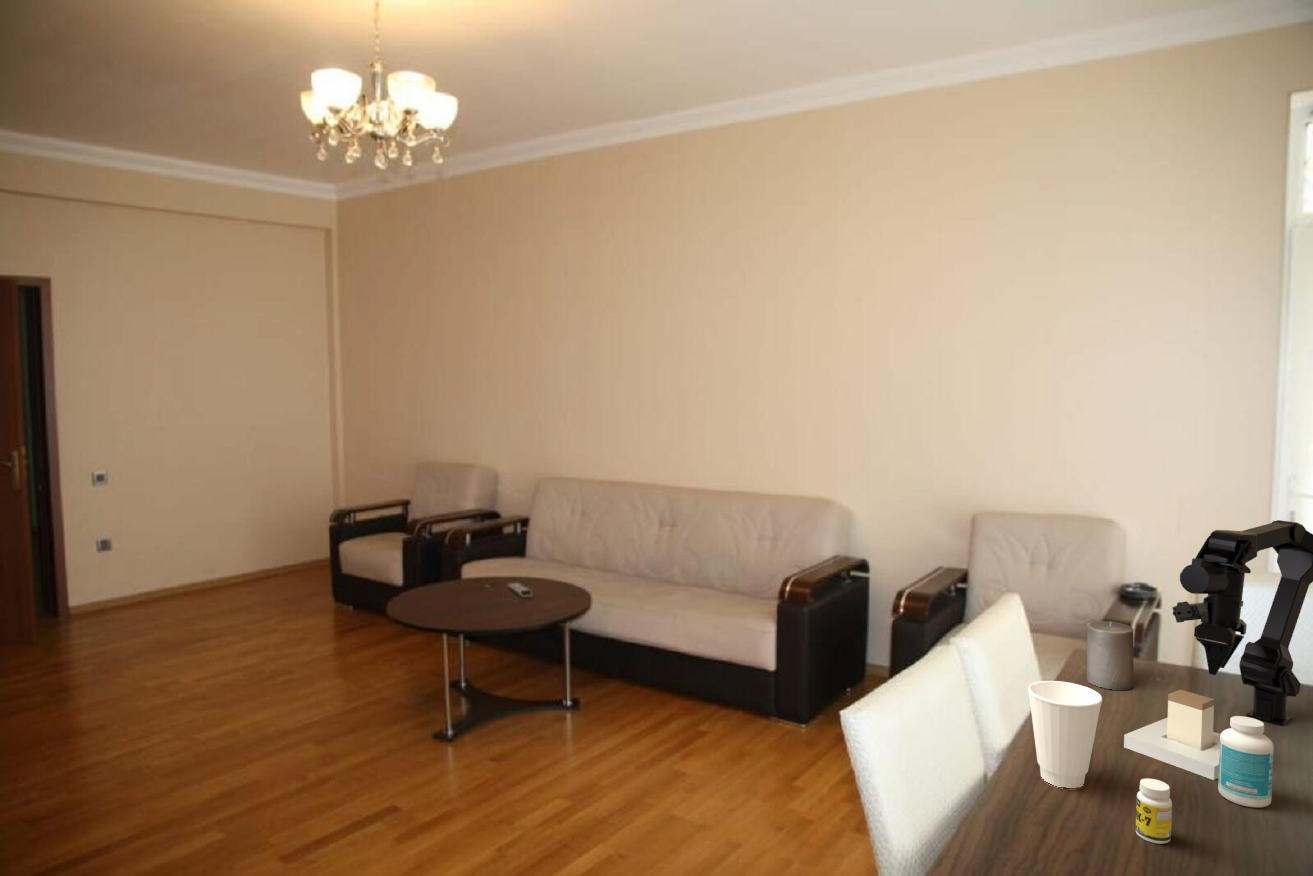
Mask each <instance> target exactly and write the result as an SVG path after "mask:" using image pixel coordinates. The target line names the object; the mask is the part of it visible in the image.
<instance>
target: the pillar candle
mask: <svg viewBox="0 0 1313 876" xmlns="http://www.w3.org/2000/svg"><path fill="white" fill-rule="evenodd" d="M1086 626H1087V627H1086V628H1087V631H1086V633H1087V634H1086V635H1087V636H1086V637H1087V638H1086V639H1087V641H1086V642H1087V643H1086V682H1087V681H1088V682H1089V683H1088V682H1087V683H1088V684H1090V683H1091V684H1090V685H1093V686H1095V685H1096V686H1095V687H1097V686H1098V687H1097V688H1099V687H1104V688H1108V689H1112V690H1111V691H1126V690H1131V689H1133V688H1132V687H1134V684H1133V683H1134V653H1135V652H1134V645H1135V644H1134V641H1135V640H1134V639H1135V637H1134V632H1135V631H1134V630H1135V629H1134V628H1133V627H1132V626H1130V625H1128V624H1125V623H1121V622H1116V621H1109V620H1108V621H1105V620H1097V621H1090V622H1088V623H1086ZM1132 685H1133V686H1132ZM1108 689H1107V690H1108Z"/></svg>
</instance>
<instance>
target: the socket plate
mask: <svg viewBox="0 0 1313 876" xmlns="http://www.w3.org/2000/svg"><path fill="white" fill-rule="evenodd" d="M1167 721H1168V716H1167V717H1165V718H1163V719H1160V720H1158V721H1155V722H1153V723H1150V724H1147V725H1145V726H1143V727H1140V728H1137V729H1135V730H1132V731H1129V732H1128V733H1125V734H1124V736H1123V747H1124V748H1125V749H1128V750H1131V751H1133V752H1135V753H1139V754H1141V755H1144V756H1146V757H1150V758H1152V759H1155V760H1158V761H1160V762H1163V763H1166V764H1168V765H1172V766H1174V767H1177V768H1180V769H1182V770H1185V771H1188V772H1191V773H1193V774H1196V775H1198V776H1201V777H1204V778H1207V779H1208V780H1209V779H1210V780H1212V781H1215V780H1218V779H1219V753H1220V735H1221V733H1219V732H1215V731H1213V746H1212V747H1211V748H1209V749H1207V750H1204V751H1201V750H1198V749H1195V748H1192V747H1189V746H1186V745H1184V744H1181V743H1178V742H1175V741H1172V740H1169V739H1167Z"/></svg>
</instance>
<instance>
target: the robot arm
mask: <svg viewBox="0 0 1313 876" xmlns="http://www.w3.org/2000/svg"><path fill="white" fill-rule="evenodd" d="M1270 548H1272V549H1273V550H1274V551H1275V553H1276V554H1277V558H1276V563H1277V565H1278V568H1279V571H1280V574H1281V576H1280V579H1279V583H1278V585H1277V589H1276V591H1275V594H1274V598H1273V599H1272V600H1273V601H1272V602H1271V607H1270V609H1269V612H1268V614H1267V619H1266V620H1265V623H1264V626H1263V630H1262V632H1261V636H1260V637H1259V639H1257V640H1255V641H1254V642H1252V641H1248V642H1247V643H1246V644H1245V645H1244V646H1245V647H1244V650H1243V654H1242V655H1241V657H1240V661H1239V666H1238V667H1239V672H1240V677H1241V681H1242V684H1243V685H1248V686H1250V687H1253V693H1252V709H1251V710H1249V711H1247V712H1246V713H1245V717H1249V718H1253V719H1256V720H1259V721H1265V722H1268V723H1272V724H1276V725H1279V726H1283V725H1285V724H1286V723H1288V722H1289V721H1290V719H1291V720H1292V719H1293V715H1291V714H1287V705H1288V704H1287V702H1288V697H1294V698H1295V697H1298V696H1297V695H1298V694H1300V691H1301V685H1302V684H1301V682H1300V681H1299V679H1298V677H1297V676H1296V675H1295V673H1294V672H1293V668H1294V667H1293V666H1294V661H1293V658H1292V655H1291V653H1290V650H1289V648H1290V644H1291V641H1292V638H1293V635H1294V632H1295V629H1296V626H1297V622H1298V620H1299V616H1300V614H1301V611H1302V608H1303V605H1304V601H1305V599H1306V595H1307V593H1308V589H1309V587H1310V585H1311V584H1313V533H1311V532H1310V531H1309V530H1307V529H1306V528H1305V526H1304V525H1303V524H1302V523H1299V522H1298V521H1297V522H1295V521H1294V522H1293V521H1289V520H1288V521H1287V520H1279V519H1278V520H1273V521H1271V522H1270V523H1266V524H1263V525H1259V526H1255V527H1252V528H1248V529H1244V530H1231V529H1229V530H1228V529H1215V530H1213V531H1212V532H1211V533H1210V535H1208V536H1207V538H1206V539H1205V542H1204V543H1203V545H1202V546H1201V548H1200V549H1199V551H1198V553H1197V554H1196V556H1195V558H1192V559H1191V564H1189V565H1186V566H1185V567H1184V568H1183V569H1182V570H1181V572H1180V573H1179V582H1180V584H1181V586H1182V588H1183V589H1184V590H1185V591H1186V592H1188V593H1190V594H1193V595H1196V594H1197V595H1206V596H1205V597H1204V598H1203V600H1202V601H1203V602H1195V603H1190V602H1188V601H1187V600H1185V601H1178V602H1177V603H1176V605H1175V606H1172V607H1171V608H1172V615H1173V616H1174V618H1175V622H1176V623H1184V622H1185V621H1196V620H1197V621H1198V620H1200V624H1198V625H1196V626H1194V634H1193V637H1195V639H1196V640H1197V642H1199V643H1200V644H1201V645H1202V646H1203V647H1204V651H1205V656H1206V664H1207V669H1208V674H1210V675H1212V676H1216V675H1217V674H1218V672H1219V670H1220V669H1225V667H1226V665H1227V664H1228V662H1229V661H1230V659H1231V658H1232V656H1233V654H1234V653H1235V651H1236V650H1237V648H1238V646H1239V645H1240V644H1241V642H1242V641H1243V639H1244V638H1245V636H1244V635H1246V634H1247V626H1248V624H1247V623H1246V622H1245V621H1244V620H1243V619H1242V618H1241V612H1242V611H1241V610H1242V608H1243V607H1244V600H1243V594H1244V587H1245V586H1244V584H1245V576H1246V574H1251V573H1252V572H1251V571H1252V570H1251V569H1250V567H1249V566H1247V565H1246V564H1247V563H1248V562H1251V561H1253V560H1254V559H1256V558H1257V557H1258V552H1260V551H1263V550H1267V549H1270ZM1237 632H1238V633H1240V634H1238V633H1237Z"/></svg>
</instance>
